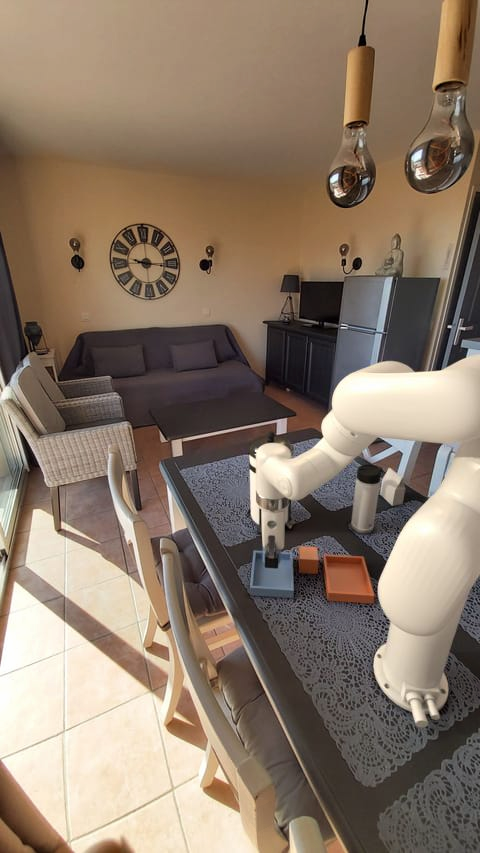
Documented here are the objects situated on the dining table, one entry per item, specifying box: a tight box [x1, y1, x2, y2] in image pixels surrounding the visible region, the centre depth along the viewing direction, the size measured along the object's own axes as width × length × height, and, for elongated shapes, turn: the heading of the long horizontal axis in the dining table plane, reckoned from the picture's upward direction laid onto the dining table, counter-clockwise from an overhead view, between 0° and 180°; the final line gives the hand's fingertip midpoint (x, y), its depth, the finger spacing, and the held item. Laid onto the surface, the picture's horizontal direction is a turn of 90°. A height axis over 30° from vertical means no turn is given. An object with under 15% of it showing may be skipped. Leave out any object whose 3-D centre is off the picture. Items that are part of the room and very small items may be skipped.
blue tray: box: [249, 550, 295, 599], centre depth 90 cm, size 12×10×2 cm
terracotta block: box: [297, 545, 320, 575], centre depth 92 cm, size 5×5×5 cm
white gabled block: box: [379, 467, 406, 507], centre depth 117 cm, size 4×7×10 cm, turn 13°
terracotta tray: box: [321, 553, 375, 605], centre depth 88 cm, size 12×10×2 cm
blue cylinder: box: [262, 542, 282, 564], centre depth 87 cm, size 4×4×5 cm
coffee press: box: [247, 430, 295, 536], centre depth 105 cm, size 17×16×30 cm
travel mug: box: [350, 463, 384, 534], centre depth 102 cm, size 6×7×20 cm
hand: (271, 558), depth 88 cm, fingers closed on blue cylinder, 4 cm apart
